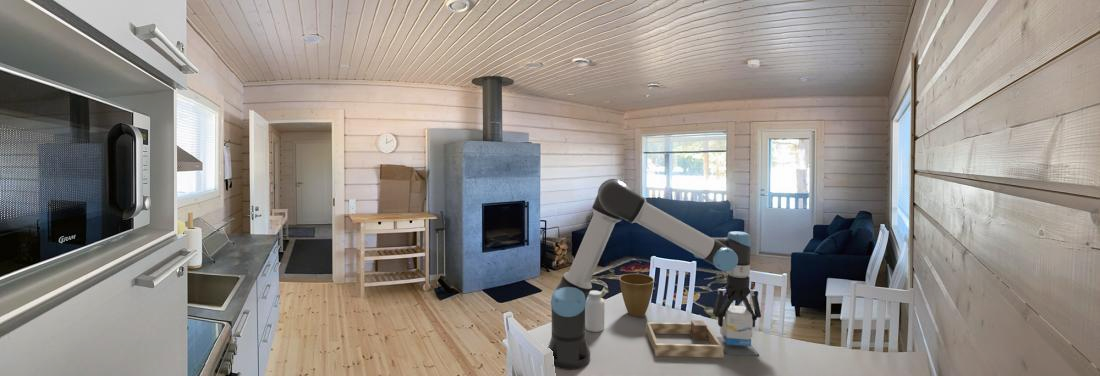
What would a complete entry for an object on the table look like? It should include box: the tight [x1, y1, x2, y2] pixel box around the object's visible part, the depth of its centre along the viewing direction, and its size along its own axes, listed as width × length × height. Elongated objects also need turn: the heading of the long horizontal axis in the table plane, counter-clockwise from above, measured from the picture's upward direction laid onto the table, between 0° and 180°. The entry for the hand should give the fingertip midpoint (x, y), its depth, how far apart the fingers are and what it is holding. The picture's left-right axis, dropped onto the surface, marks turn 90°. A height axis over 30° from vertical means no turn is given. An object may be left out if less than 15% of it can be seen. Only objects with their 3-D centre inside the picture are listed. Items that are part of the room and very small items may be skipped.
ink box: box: [721, 304, 753, 346], centre depth 148 cm, size 9×8×12 cm
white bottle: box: [585, 289, 605, 333], centre depth 165 cm, size 8×8×15 cm
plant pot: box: [619, 273, 655, 318], centre depth 179 cm, size 15×15×16 cm
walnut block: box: [690, 319, 708, 342], centre depth 156 cm, size 4×4×6 cm
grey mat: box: [716, 336, 760, 357], centre depth 149 cm, size 11×13×1 cm
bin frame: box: [646, 321, 724, 359], centre depth 151 cm, size 23×19×4 cm
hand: (735, 335), depth 148 cm, fingers closed on ink box, 9 cm apart
